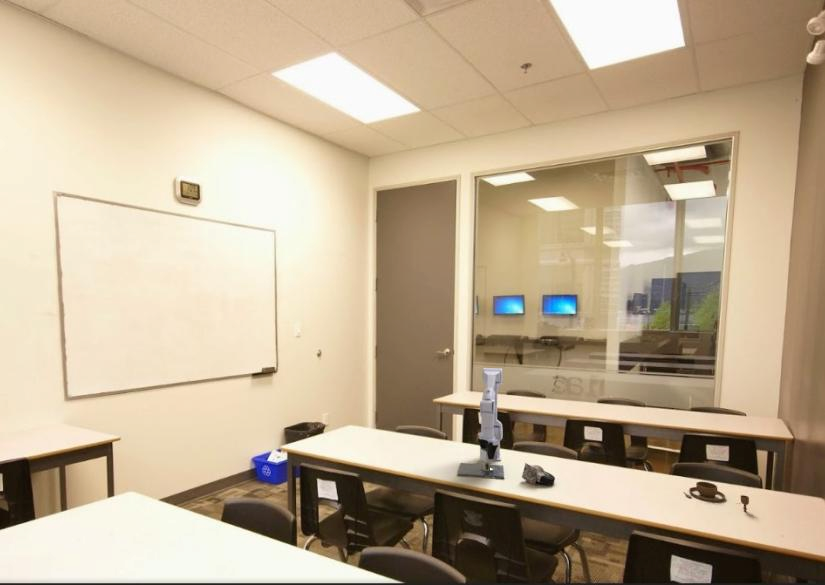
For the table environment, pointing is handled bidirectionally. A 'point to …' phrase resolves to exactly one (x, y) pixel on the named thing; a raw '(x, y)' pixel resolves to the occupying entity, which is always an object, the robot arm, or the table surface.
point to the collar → (487, 456)
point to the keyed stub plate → (481, 470)
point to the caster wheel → (537, 475)
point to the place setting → (712, 493)
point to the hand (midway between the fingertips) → (487, 456)
